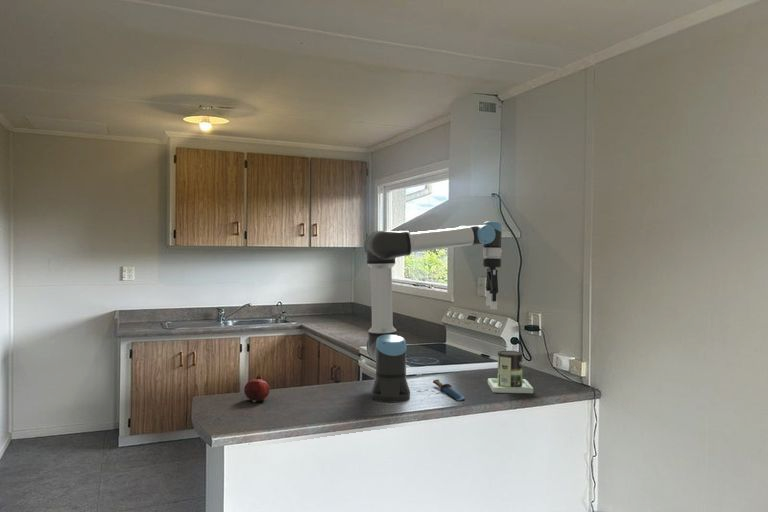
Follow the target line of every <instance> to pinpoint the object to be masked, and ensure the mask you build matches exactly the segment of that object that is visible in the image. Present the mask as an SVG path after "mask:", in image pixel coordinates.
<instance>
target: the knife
mask: <svg viewBox="0 0 768 512" xmlns="http://www.w3.org/2000/svg"><path fill="white" fill-rule="evenodd" d="M432 383H433V384H434V385H436V386H437V387H439V390H440V391H441V392H443V393H445V394H447V395H448V396H449V397H451V398H452V399H454V401H457V402H459V401H462V400H463V399H465V396H464V395H463V394H461V393H459V392H458V391H457V390H455V389H453V388H452V385H451V384H450V383H444V384H443V383H441V382H440V380H439V379H434V380H433V381H432Z"/></svg>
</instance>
